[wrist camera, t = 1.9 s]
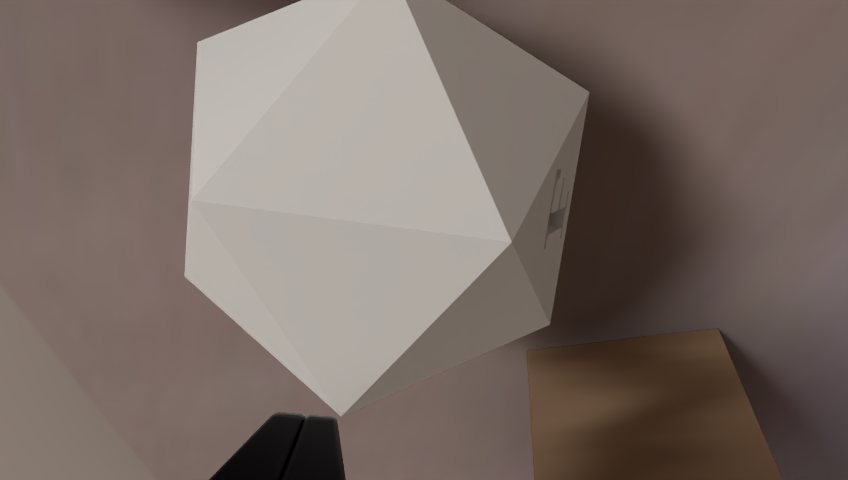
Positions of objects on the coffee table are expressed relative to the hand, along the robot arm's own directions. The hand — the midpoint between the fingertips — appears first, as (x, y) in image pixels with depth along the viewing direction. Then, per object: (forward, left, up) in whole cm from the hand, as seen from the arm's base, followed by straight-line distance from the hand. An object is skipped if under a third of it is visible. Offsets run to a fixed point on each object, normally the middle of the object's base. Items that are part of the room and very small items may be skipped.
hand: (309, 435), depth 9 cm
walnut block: (-8, +10, -11) cm, 17 cm away
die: (0, 0, -11) cm, 11 cm away
